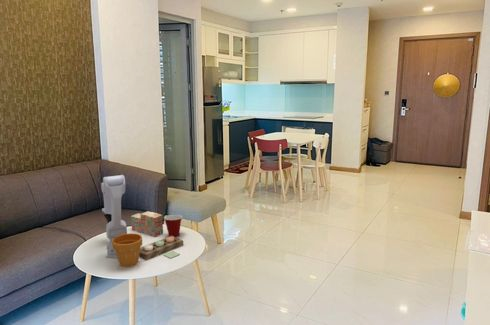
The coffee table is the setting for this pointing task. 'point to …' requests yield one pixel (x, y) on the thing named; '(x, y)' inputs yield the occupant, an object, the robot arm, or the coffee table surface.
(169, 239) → the terracotta button
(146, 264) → the coffee table surface
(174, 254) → the colour card
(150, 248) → the cream button
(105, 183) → the robot arm
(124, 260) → the flower pot
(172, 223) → the plastic cup
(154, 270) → the coffee table surface
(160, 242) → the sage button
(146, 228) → the stack of blocks
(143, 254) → the wooden compartment tray
